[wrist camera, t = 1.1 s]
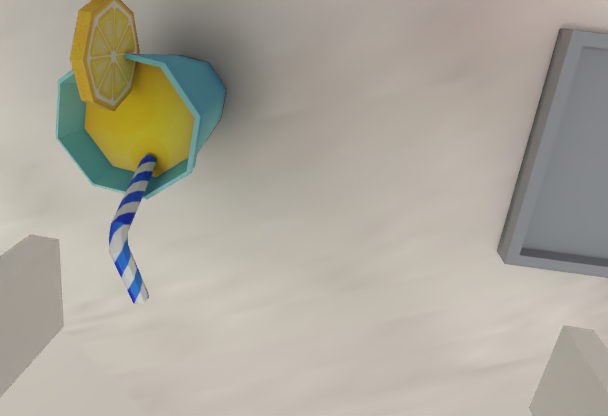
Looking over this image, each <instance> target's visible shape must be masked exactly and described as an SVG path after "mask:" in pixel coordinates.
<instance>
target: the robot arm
mask: <svg viewBox="0 0 608 416" xmlns="http://www.w3.org/2000/svg"><path fill="white" fill-rule="evenodd" d="M63 327H64V324H63V305H62V287H61V268H60V249H59V239H54V238H48V237H42V236H36V235H29V236H28V237H26V238H25V239H23V240H22V241H21V242H19V243H18V244H16V245H15V246H14V247H12V248H11V249H10V250H8V251H7V252H5V253H4V254H3V255H1V256H0V397H1V396H2V395H3V394H4V393H5V392H6V391H7V389H8V388H9V387H10V386H11V385H12V384H13V383H14V382H15V380H16V379H17V378H18V377H19V376H20V375H21V374H22V373H23V371H24V370H25V369H26V368H27V367H28V366H29V365H30V364H31V362H32V361H33V360H34V359H35V358H36V356H38V355H39V353H40V352H41V351H42V350H43V349H44V348H45V347H46V346H47V344H48V343H49V342H50V341H51V340H52V339H53V338H54V337H55V335H56V334H57V333H58V332H59V331H60V330H61V329H62V328H63ZM529 408H530V411H531V413H532V415H533V416H608V349H607V347H606V346H605V345H604V343H603V342H602V341H601V339H600V338H599V337H598V335H597V334H596V333H595V331H594V330H588V329H583V328H577V327H571V326H565V325H563V328H562V330H561V333H560V335H559V337H558V340H557V342H556V345H555V347H554V349H553V352H552V354H551V357H550V359H549V361H548V364H547V366H546V368H545V371H544V373H543V376H542V378H541V380H540V383H539V385H538V388H537V390H536V392H535V395H534V397H533V400H532V402H531V404H530V407H529Z"/></svg>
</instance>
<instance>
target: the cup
mask: <svg viewBox="0 0 608 416" xmlns="http://www.w3.org/2000/svg"><path fill="white" fill-rule="evenodd" d="M70 61H71V65H72V68H73V70H72V71H70V72H69V73H67V74H66V75H65V76H63V77H62V78H61V79H59V81H58V102H57V122H56V139H57V140H58V141H59V142H60V144H61V145H62V146H63V148H64V149H65V150H66V151H67V153H68V154H69V155H70V157H71V158H72V159H73V161H74V162H75V163H76V164H77V166H78V167H79V168H80V170H81V171H82V172H83V174H84V175H85V176H86V177H87V179H88V180H89V181H90V183H91V184H92V185H94V186H97V187H101V188H105V189H109V190H113V191H117V192H121V193H125V195H124V197H123V200H122V202H121V204H120V206H119V208H118V210H117V212H116V215H115V217H114V219H113V221H112V223H111V228H110V236H109V253H110V255H111V257H112V259H113V261H114V263H115V265H116V267H117V270H118V272H119V274H120V276H121V278H122V280H123V282H124V284H125V286H126V288H127V290H128V293H129V295H130V297H131V299H132V301H133V303H135V304H141V303H144V302H145V301H146V300H147V299H148V298H149V295H148V292H147V289H146V287H145V284H144V282H143V280H142V277H141V275H140V272H139V270H138V268H137V265H136V263H135V260H134V258H133V256H132V253H131V251H130V249H129V246H128V230H129V228H130V225H131V223H132V221H133V218H134V216H135V214H136V211H137V209H138V206H139V204H140V202H141V199H142V198H144V199H148V198H150V197H152V196H153V195H155V194H157V193H158V192H160V191H162V190H163V189H165V188H167V187H168V186H170V185H172V184H173V183H175V182H177V181H178V180H180V179H182V178H183V177H185V176H186V175H188V174H190V173H191V172H192V170H193V168H194V166H195V162H196V156H197V153H198V152H199V150H200V149H201V147H202V146H203V144H204V143H205V141H206V140H207V138H208V137H209V135H210V134H211V132H212V131H213V129H214V128H215V126H216V125H217V123H218V122H219V120H220V119H221V117H222V111H223V105H224V100H225V94H226V88H225V86H224V85H223V83H222V82H221V80H220V79H219V77H218V75H217V74H216V72H215V71H214V69H213V68H212V66H211V65H210V63H208V62H204V61H200V60H197V59H193V58H189V57H185V56H181V55H147V54H139V45H138V39H137V33H136V27H135V21H134V15H133V12H132V11H131V10H130V9H129V8H128V7H127V6H126V5H125V4H124V3H123V2H122V1H121V0H91V1H90V2H89V3H88V4H86V5H85V6H84V7H83V8H81V9H80V10H79V12H78V18H77V23H76V28H75V33H74V39H73V44H72V49H71V55H70Z"/></svg>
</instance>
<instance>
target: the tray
mask: <svg viewBox="0 0 608 416" xmlns="http://www.w3.org/2000/svg"><path fill="white" fill-rule="evenodd" d="M497 252H498V253H499V255H500V257H501V258H502V260H503V262H504V263H505V264H510V265H517V266H525V267H532V268H539V269H547V270H554V271H561V272H569V273H576V274H584V275H591V276H598V277H606V278H608V34H603V33H595V32H586V31H577V30H567V29H560V31H559V35H558V38H557V42H556V45H555V49H554V52H553V56H552V59H551V63H550V66H549V70H548V73H547V77H546V80H545V84H544V88H543V91H542V95H541V98H540V102H539V105H538V109H537V112H536V116H535V119H534V123H533V126H532V130H531V134H530V137H529V141H528V144H527V148H526V151H525V155H524V158H523V162H522V165H521V169H520V172H519V176H518V179H517V183H516V187H515V190H514V194H513V197H512V201H511V204H510V208H509V211H508V215H507V218H506V222H505V225H504V229H503V232H502V236H501V240H500V243H499V247H498V250H497Z"/></svg>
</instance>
